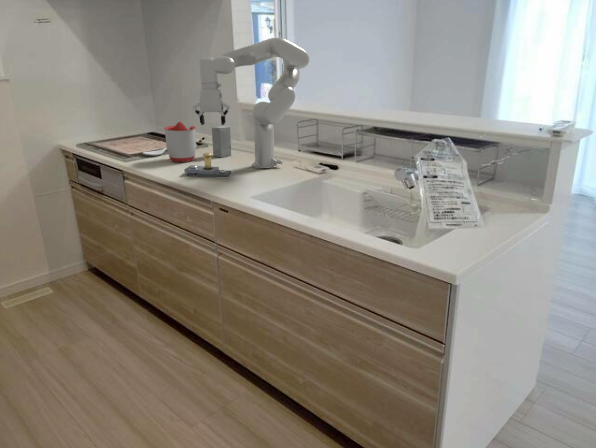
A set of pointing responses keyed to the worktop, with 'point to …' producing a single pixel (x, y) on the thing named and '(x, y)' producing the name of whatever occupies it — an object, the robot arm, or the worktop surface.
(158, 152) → the spoon
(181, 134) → the citrus juicer
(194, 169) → the upper link
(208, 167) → the brass pin
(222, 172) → the lower link
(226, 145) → the skincare box
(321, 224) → the worktop surface
